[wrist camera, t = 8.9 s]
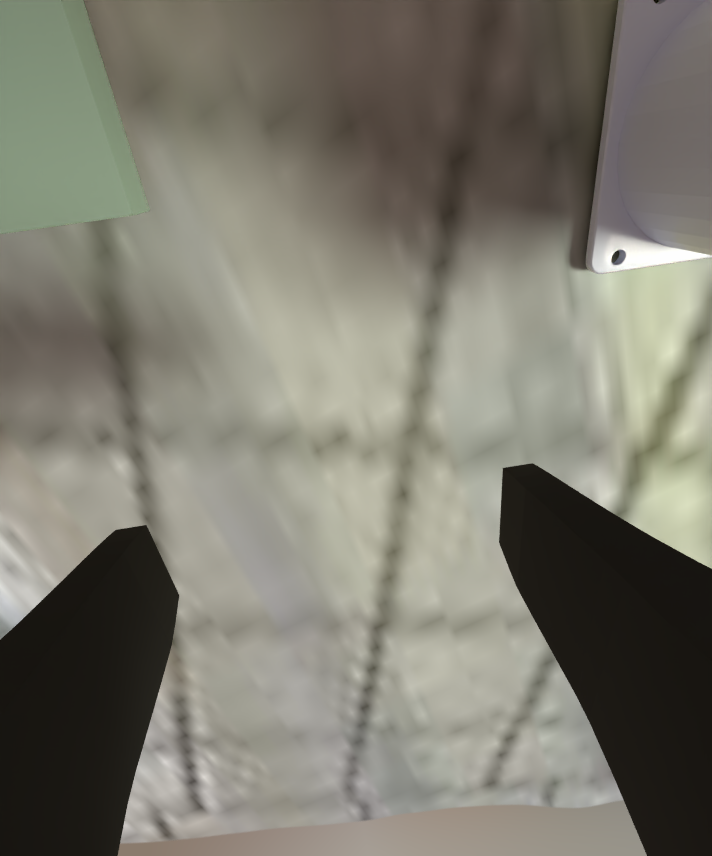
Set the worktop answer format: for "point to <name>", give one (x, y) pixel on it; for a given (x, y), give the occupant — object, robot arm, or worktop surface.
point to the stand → (59, 122)
